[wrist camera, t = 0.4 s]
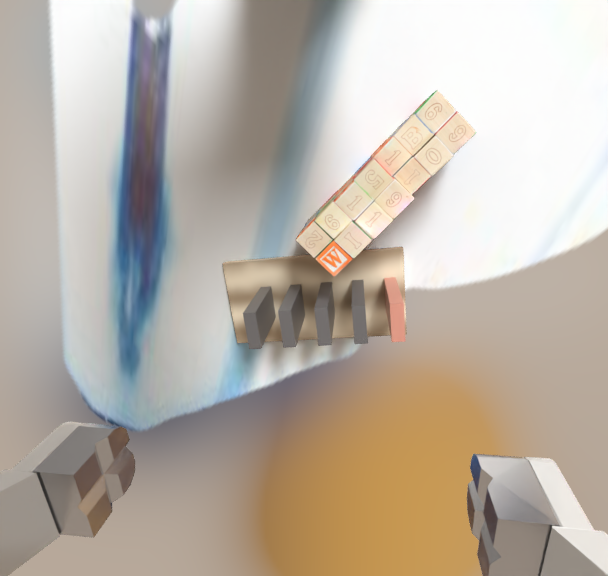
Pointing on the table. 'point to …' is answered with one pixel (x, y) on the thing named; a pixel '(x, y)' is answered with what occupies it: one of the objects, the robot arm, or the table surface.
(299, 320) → the domino
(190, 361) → the table surface
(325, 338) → the domino
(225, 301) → the table surface
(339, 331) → the domino board
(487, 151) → the table surface
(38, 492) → the robot arm
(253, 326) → the domino
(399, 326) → the domino
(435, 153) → the stack of blocks
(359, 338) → the domino
